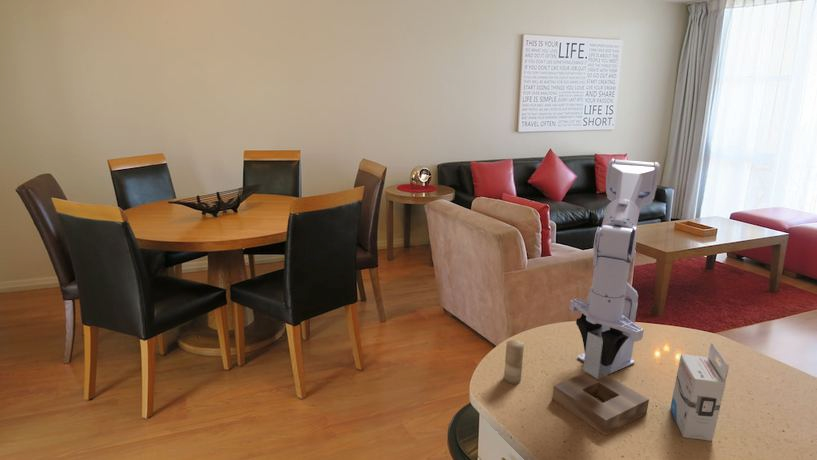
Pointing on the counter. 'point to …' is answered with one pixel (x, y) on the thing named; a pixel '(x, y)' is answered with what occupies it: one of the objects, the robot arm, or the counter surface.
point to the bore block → (600, 415)
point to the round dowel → (513, 361)
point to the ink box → (699, 394)
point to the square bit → (595, 354)
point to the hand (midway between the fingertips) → (598, 359)
